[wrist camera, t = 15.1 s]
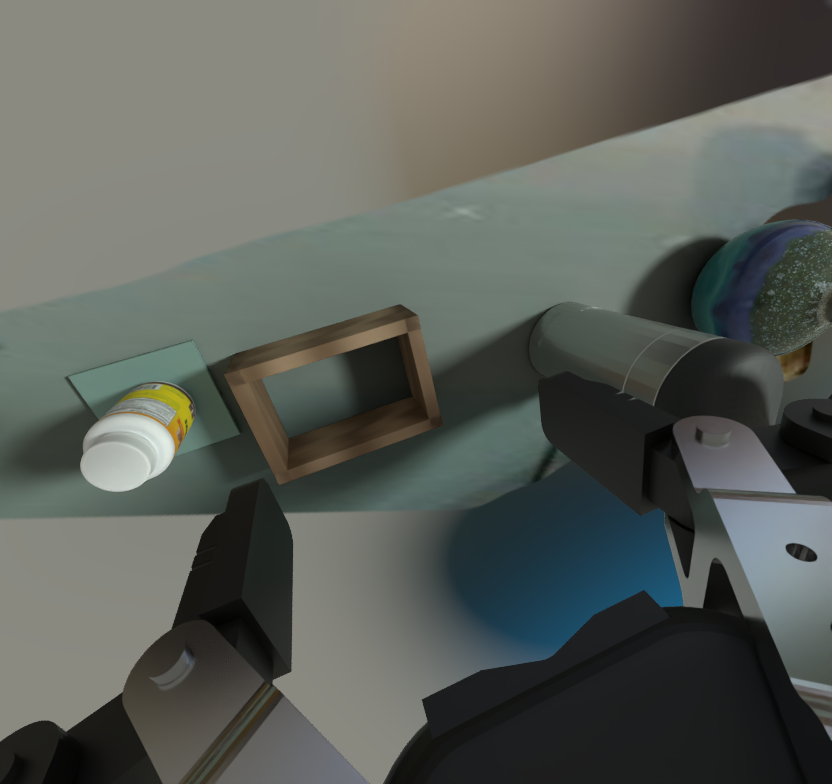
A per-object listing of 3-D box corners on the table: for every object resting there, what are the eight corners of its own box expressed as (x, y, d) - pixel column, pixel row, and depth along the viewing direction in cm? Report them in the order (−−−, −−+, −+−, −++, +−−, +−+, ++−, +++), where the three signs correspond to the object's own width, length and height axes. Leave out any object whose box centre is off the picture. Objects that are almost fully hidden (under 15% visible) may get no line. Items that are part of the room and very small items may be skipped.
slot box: (400, 304, 37) (417, 315, 32) (424, 401, 42) (442, 425, 37) (235, 353, 35) (223, 374, 29) (281, 451, 39) (279, 485, 34)
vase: (669, 362, 51) (781, 399, 39) (666, 250, 44) (801, 254, 32) (758, 317, 53) (891, 339, 41) (769, 202, 46) (932, 190, 34)
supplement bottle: (176, 443, 36) (134, 514, 26) (113, 413, 33) (44, 480, 24) (210, 400, 35) (180, 457, 26) (150, 366, 32) (93, 416, 23)
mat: (192, 339, 33) (191, 341, 33) (240, 432, 37) (240, 434, 37) (71, 374, 31) (68, 376, 31) (136, 467, 36) (134, 469, 35)
